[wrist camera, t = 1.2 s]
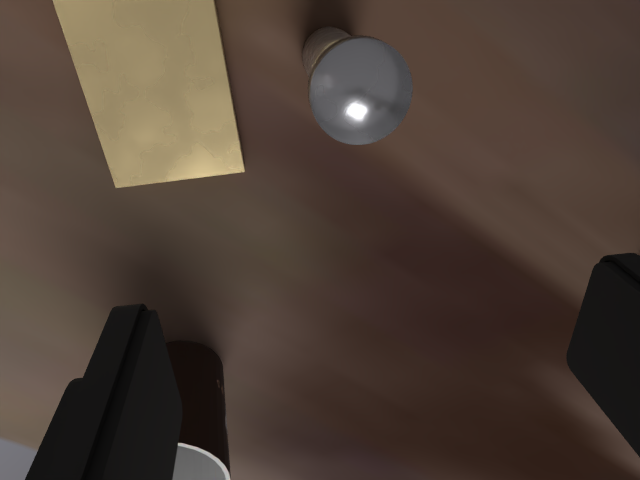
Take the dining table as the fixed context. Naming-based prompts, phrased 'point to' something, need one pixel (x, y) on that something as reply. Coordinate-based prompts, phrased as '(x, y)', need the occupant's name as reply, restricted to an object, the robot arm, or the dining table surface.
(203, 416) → the coffee mug
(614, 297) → the robot arm
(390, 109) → the silver flashlight
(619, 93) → the dining table surface
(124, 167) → the open box with flaps
